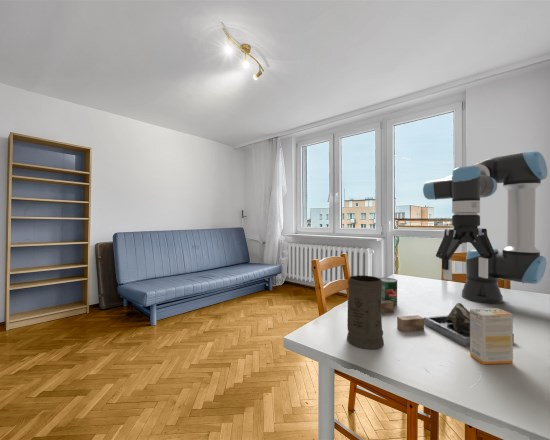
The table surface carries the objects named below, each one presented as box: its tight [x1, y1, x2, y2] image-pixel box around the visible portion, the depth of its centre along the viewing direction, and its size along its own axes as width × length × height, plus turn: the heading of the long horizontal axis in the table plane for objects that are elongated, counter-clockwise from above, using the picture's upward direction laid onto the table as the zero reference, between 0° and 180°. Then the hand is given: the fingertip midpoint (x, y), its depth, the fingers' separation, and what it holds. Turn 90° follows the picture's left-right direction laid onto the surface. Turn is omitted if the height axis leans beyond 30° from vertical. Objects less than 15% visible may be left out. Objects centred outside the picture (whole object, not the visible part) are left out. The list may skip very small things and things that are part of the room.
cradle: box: [381, 300, 425, 333], centre depth 99 cm, size 8×20×4 cm, turn 10°
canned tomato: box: [379, 277, 398, 308], centre depth 116 cm, size 8×8×11 cm
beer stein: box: [346, 274, 385, 350], centre depth 84 cm, size 15×11×20 cm
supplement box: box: [469, 308, 514, 365], centre depth 72 cm, size 8×5×13 cm, turn 92°
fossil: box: [446, 302, 470, 332], centre depth 88 cm, size 11×9×10 cm
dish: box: [423, 314, 515, 348], centre depth 88 cm, size 17×17×2 cm
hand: (465, 278), depth 88 cm, fingers open, 13 cm apart
